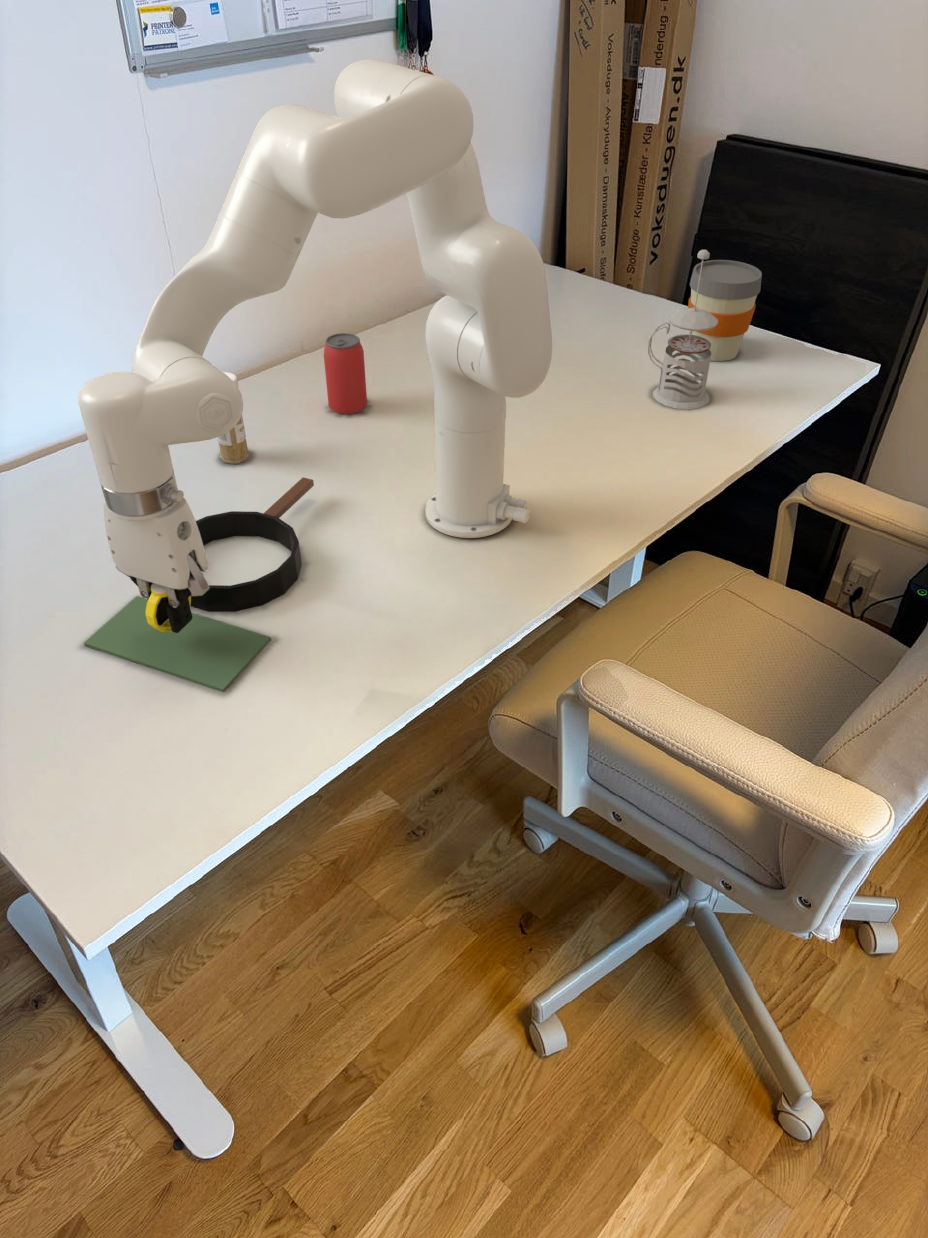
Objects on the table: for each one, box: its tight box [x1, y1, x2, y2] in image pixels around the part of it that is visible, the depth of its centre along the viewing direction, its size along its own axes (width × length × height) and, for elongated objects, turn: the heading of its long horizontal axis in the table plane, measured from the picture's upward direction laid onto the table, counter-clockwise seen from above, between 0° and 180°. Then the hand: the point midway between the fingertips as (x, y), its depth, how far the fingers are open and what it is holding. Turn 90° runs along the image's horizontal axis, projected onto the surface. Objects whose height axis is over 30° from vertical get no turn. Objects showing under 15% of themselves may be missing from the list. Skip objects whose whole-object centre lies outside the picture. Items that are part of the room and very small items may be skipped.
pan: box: [177, 477, 315, 613], centre depth 129 cm, size 28×17×4 cm, turn 156°
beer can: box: [323, 332, 368, 416], centre depth 159 cm, size 7×7×12 cm
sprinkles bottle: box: [216, 371, 250, 465], centre depth 145 cm, size 5×5×14 cm
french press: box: [647, 249, 718, 410], centre depth 158 cm, size 10×12×25 cm
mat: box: [83, 595, 272, 693], centre depth 115 cm, size 20×10×1 cm, turn 66°
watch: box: [145, 583, 191, 632], centre depth 112 cm, size 6×3×6 cm, turn 150°
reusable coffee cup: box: [687, 259, 763, 362], centre depth 176 cm, size 13×13×15 cm
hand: (173, 622), depth 113 cm, fingers closed on watch, 2 cm apart
